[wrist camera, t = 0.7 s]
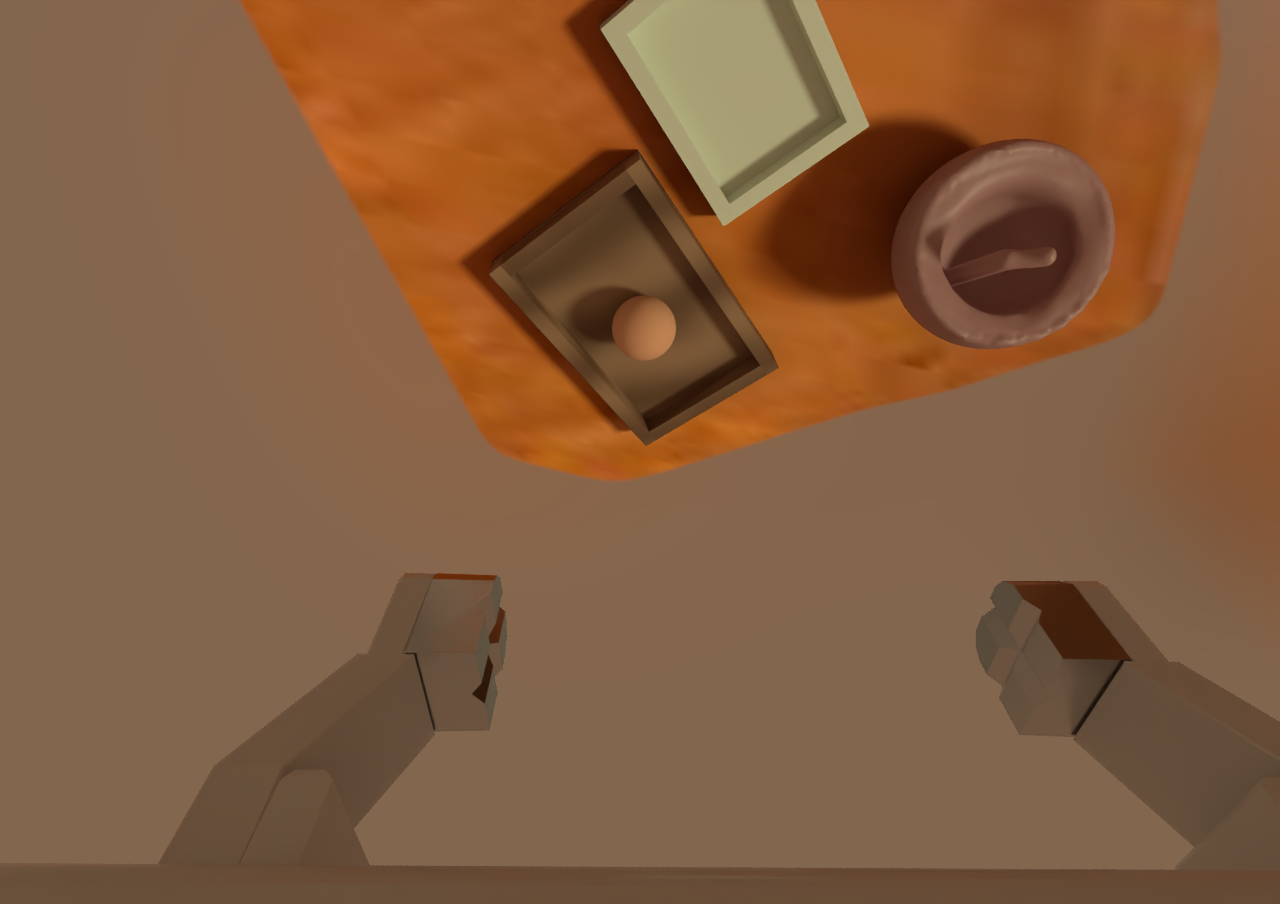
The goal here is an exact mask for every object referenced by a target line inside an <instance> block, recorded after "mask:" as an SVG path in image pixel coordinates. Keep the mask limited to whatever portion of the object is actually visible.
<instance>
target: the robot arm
mask: <svg viewBox="0 0 1280 904" xmlns="http://www.w3.org/2000/svg"><path fill="white" fill-rule="evenodd" d="M501 597H502V587H501V580H500V577H499V576H495V575H470V574H441V573H438V574H424V573H423V574H422V573H405V574H404V575H403V576H402V577H401V578H400V579H399V581H398V583H397V585H396V588H395V590H394V593H393V595H392V598H391V599H390V602H389V604H388V607H387V609H386V611H385V613H384V616H383V618H382V620H381V623H380V625H379V628H378V630H377V632H376V634H375V637H374V639H373V641H372V644H371V646H370V648H369V651H368V653H367V654H357V655H356V656H354V657H353V658H352V659H350V660H349V661H348V662H346V663H345V664H344V665H343V666H341V667H340V668H339V669H337V670H336V671H335V672H334V673H332V674H331V675H330V676H328V677H327V678H326V679H325V680H323V681H322V682H321V683H320V684H318V685H317V686H316V687H314V688H313V689H312V690H311V691H309V692H308V693H307V694H305V695H304V696H303V697H302V698H300V699H299V700H298V701H296V702H295V703H294V704H293V705H291V706H290V707H289V708H287V709H286V710H285V711H284V712H282V713H281V714H280V715H279V716H277V717H276V718H275V719H273V720H272V721H271V722H270V723H268V724H267V725H266V726H264V727H263V728H262V729H261V730H259V731H258V732H257V733H255V734H254V735H253V736H252V737H250V738H249V739H248V740H246V741H245V742H244V743H243V744H241V745H240V746H239V747H238V748H236V749H235V750H234V751H233V752H231V753H230V754H229V755H227V756H226V757H225V758H223V759H222V760H221V761H220V762H218V763H217V764H216V765H214V767H213V768H212V770H211V772H210V774H209V775H208V777H207V779H206V781H205V782H204V784H203V786H202V788H201V790H200V791H199V793H198V795H197V796H196V798H195V800H194V802H193V803H192V805H191V807H190V809H189V810H188V812H187V814H186V816H185V817H184V819H183V821H182V823H181V825H180V826H179V828H178V830H177V831H176V833H175V835H174V837H173V838H172V840H171V842H170V844H169V845H168V847H167V849H166V851H165V852H164V854H163V856H162V858H161V859H160V861H159V863H158V864H65V863H63V864H61V863H57V864H56V863H49V864H48V863H0V904H1280V722H1279V721H1278V720H1276V719H1274V718H1273V717H1271V716H1269V715H1268V714H1266V713H1264V712H1262V711H1261V710H1259V709H1257V708H1256V707H1254V706H1252V705H1251V704H1249V703H1247V702H1245V701H1244V700H1242V699H1241V698H1239V697H1237V696H1235V695H1234V694H1232V693H1230V692H1229V691H1227V690H1225V689H1224V688H1222V687H1220V686H1219V685H1217V684H1215V683H1213V682H1212V681H1210V680H1208V679H1207V678H1205V677H1203V676H1202V675H1200V674H1198V673H1196V672H1195V671H1193V670H1192V669H1190V668H1188V667H1186V666H1185V665H1183V664H1181V663H1180V662H1169V661H1168V660H1167V659H1166V658H1165V657H1164V655H1163V654H1162V653H1161V652H1160V650H1159V649H1158V648H1157V647H1156V646H1155V644H1154V643H1153V642H1152V641H1151V640H1150V639H1149V637H1148V636H1147V635H1146V634H1145V633H1144V631H1143V630H1142V629H1141V628H1140V626H1139V625H1138V624H1137V623H1136V622H1135V620H1133V618H1132V617H1131V616H1130V615H1129V613H1128V612H1127V611H1126V610H1125V608H1124V607H1123V606H1122V605H1121V604H1120V602H1119V601H1118V600H1117V599H1116V598H1115V597H1114V595H1113V594H1112V593H1111V592H1110V591H1109V589H1108V588H1107V587H1106V586H1104V585H1103V584H1101V583H1099V582H1098V581H1064V582H1061V581H1002V582H1001V583H999V584H998V585H997V586H996V587H995V588H994V590H993V593H992V595H991V597H990V599H991V600H992V602H993V604H994V606H995V608H993V609H992V610H991V611H989V612H988V613H986V614H985V615H984V616H982V617H981V620H980V622H979V625H978V627H977V630H976V649H977V653H978V656H979V660H980V662H981V664H982V666H983V668H984V670H985V672H986V674H987V675H989V676H990V677H991V678H993V679H994V680H995V681H997V682H998V683H999V684H1001V685H1002V690H1001V693H1000V697H999V698H1000V700H1001V702H1002V704H1003V705H1004V707H1005V709H1006V711H1007V713H1008V715H1009V717H1010V718H1011V720H1012V722H1013V724H1014V726H1015V728H1016V730H1017V731H1018V733H1019V735H1036V736H1065V737H1074V741H1075V742H1077V743H1078V744H1079V745H1080V746H1081V747H1082V748H1083V749H1085V750H1086V751H1087V752H1088V753H1089V754H1090V755H1091V756H1092V757H1093V758H1095V759H1096V760H1097V761H1098V762H1099V763H1100V764H1101V765H1103V766H1104V767H1105V768H1106V769H1107V770H1108V771H1109V772H1110V773H1111V774H1113V775H1114V776H1115V777H1116V778H1117V779H1118V780H1119V781H1120V782H1122V783H1123V784H1124V785H1125V786H1126V787H1127V788H1128V789H1129V790H1131V791H1132V792H1133V793H1134V794H1135V795H1136V796H1137V797H1138V798H1140V799H1141V800H1142V801H1143V802H1144V803H1145V804H1146V805H1148V806H1149V807H1150V808H1151V809H1152V810H1153V811H1154V812H1155V813H1157V814H1158V815H1159V816H1160V817H1161V818H1162V819H1163V820H1164V821H1166V822H1167V823H1168V824H1169V825H1170V826H1171V827H1172V828H1173V829H1175V830H1176V831H1177V832H1178V833H1179V834H1181V836H1182V837H1184V838H1185V839H1186V840H1187V841H1188V842H1189V843H1190V844H1191V845H1193V846H1194V848H1193V849H1192V850H1191V851H1190V852H1189V853H1188V854H1187V855H1186V856H1185V857H1184V858H1183V859H1182V860H1181V861H1180V862H1179V863H1178V865H1177V866H1176V869H1175V870H1118V869H1112V870H1111V869H1103V870H1102V869H950V868H947V869H946V868H945V869H944V868H943V869H942V868H755V867H754V868H752V867H751V868H748V867H742V868H741V867H561V866H560V867H559V866H558V867H557V866H554V867H553V866H374V865H373V866H370V865H369V863H368V860H367V858H366V856H365V853H364V851H363V849H362V846H361V844H360V842H359V840H358V837H357V835H356V832H355V830H354V828H355V827H356V826H357V824H358V823H359V822H360V821H361V820H362V819H363V817H364V816H365V815H366V814H367V813H368V812H369V810H370V809H371V808H372V807H373V806H374V805H375V804H376V802H377V801H378V800H379V799H380V798H381V797H382V795H383V794H384V793H385V792H386V791H387V790H388V788H389V787H390V786H391V785H392V784H393V783H394V781H395V780H396V779H397V778H398V777H399V776H400V774H401V773H402V772H403V771H404V770H405V769H406V768H407V766H408V765H409V764H410V763H411V762H412V761H413V760H414V758H415V757H416V756H417V755H418V753H420V751H421V750H422V749H423V748H424V747H425V746H426V744H427V743H428V742H429V741H430V740H431V738H432V737H433V736H434V735H435V733H434V731H479V730H480V731H483V730H490V725H491V720H492V716H493V711H494V706H495V702H496V697H497V687H496V681H495V676H496V675H497V674H498V673H499V672H500V671H501V670H502V668H503V663H504V658H505V651H506V640H507V622H506V614H505V611H504V610H503V609H502V608H500V602H501Z"/></svg>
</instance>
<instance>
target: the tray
mask: <svg viewBox="0 0 1280 904" xmlns="http://www.w3.org/2000/svg"><path fill="white" fill-rule="evenodd" d="M600 29H601V31H602V33H603V34H604V36H605V37H606V39H607V41H608V42H609V44H610V45H611V47H612V49H613V50H614V52H615V53H616V55H617V57H618V58H619V60H620V61H621V63H622V65H623V66H624V68H625V69H626V71H627V73H628V74H629V76H630V77H631V79H632V81H633V82H634V84H635V85H636V87H637V89H638V90H639V92H640V93H641V95H642V97H643V98H644V100H645V101H646V103H647V105H648V106H649V108H650V109H651V111H652V113H653V114H654V116H655V117H656V119H657V121H658V122H659V124H660V125H661V127H662V129H663V130H664V132H665V133H666V135H667V137H668V138H669V140H670V141H671V143H672V145H673V146H674V148H675V149H676V151H677V153H678V154H679V156H680V157H681V159H682V161H683V162H684V164H685V165H686V167H687V169H688V170H689V172H690V173H691V175H692V177H693V178H694V180H695V181H696V183H697V185H698V186H699V188H700V189H701V191H702V193H703V194H704V196H705V197H706V199H707V201H708V202H709V204H710V205H711V207H712V209H713V210H714V212H715V213H716V215H717V217H718V218H719V220H720V221H721V223H722V225H723V226H725V225H727V224H728V223H729V222H731V221H732V220H734V219H735V218H737V217H738V216H740V215H741V214H743V213H744V212H745V211H747V210H748V209H750V208H751V207H753V206H754V205H756V204H757V203H759V202H760V201H761V200H763V199H764V198H766V197H767V196H769V195H770V194H772V193H773V192H775V191H776V190H777V189H779V188H780V187H782V186H783V185H785V184H786V183H788V182H789V181H791V180H792V179H793V178H795V177H796V176H798V175H799V174H801V173H802V172H804V171H805V170H807V169H808V168H809V167H811V166H812V165H814V164H815V163H817V162H818V161H820V160H821V159H823V158H824V157H825V156H827V155H828V154H830V153H831V152H833V151H834V150H836V149H837V148H839V147H840V146H841V145H843V144H844V143H846V142H847V141H849V140H850V139H852V138H853V137H855V136H856V135H857V134H859V133H860V132H862V131H863V130H865V129H866V128H868V127H869V124H868V122H867V120H866V117H865V115H864V113H863V110H862V108H861V106H860V103H859V101H858V99H857V96H856V94H855V92H854V89H853V87H852V85H851V82H850V80H849V78H848V75H847V73H846V70H845V68H844V66H843V63H842V61H841V59H840V56H839V54H838V52H837V49H836V47H835V45H834V42H833V40H832V38H831V35H830V33H829V31H828V28H827V26H826V24H825V21H824V19H823V17H822V14H821V12H820V10H819V7H818V5H817V3H816V0H628V1H627V2H626V3H624V4H623V5H622V6H621V7H620V8H619V9H618V10H616V11H615V12H614V13H613V14H612V15H611V16H609V17H608V18H607V19H606V20H605V21H604V22H602V23H601V24H600Z"/></svg>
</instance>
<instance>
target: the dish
mask: <svg viewBox="0 0 1280 904" xmlns="http://www.w3.org/2000/svg"><path fill="white" fill-rule="evenodd" d="M489 275H490V276H491V277H492V278H493V280H494V281H495V282H496V283H497V284H498V285H499V286H500V287H501V288H502V289H503V290H504V292H505V293H506V294H507V295H508V296H509V297H510V298H511V299H512V300H513V301H514V302H515V304H516V305H517V306H518V307H519V308H520V309H521V310H522V311H523V312H524V313H525V314H526V316H527V317H528V318H529V319H530V320H531V321H532V322H533V323H534V324H535V325H536V326H537V328H538V329H539V330H540V331H541V332H542V333H543V334H544V335H545V336H546V337H547V339H548V340H549V341H550V342H551V343H552V344H553V345H554V346H555V347H556V348H557V349H558V351H559V352H560V353H561V354H562V355H563V356H564V357H565V358H566V359H567V360H568V361H569V363H570V364H571V365H572V366H573V367H574V368H575V369H576V370H577V371H578V372H579V373H580V375H581V376H582V377H583V378H584V379H585V380H586V381H587V382H588V383H589V384H590V385H591V387H592V388H593V389H594V390H595V391H596V392H597V393H598V394H599V395H600V396H601V397H602V399H603V400H604V401H605V402H606V403H607V404H608V405H609V406H610V407H611V408H612V409H613V411H614V412H615V413H616V414H617V415H618V416H619V417H620V418H621V419H622V420H623V421H624V423H625V424H626V425H627V426H628V427H629V428H630V429H631V430H632V431H633V432H634V433H635V435H636V436H637V437H638V438H639V439H640V440H641V441H642V442H643V443H644V444H645V445H646V446H647V445H648V444H650V443H652V442H653V441H655V440H657V439H659V438H660V437H662V436H664V435H665V434H667V433H669V432H670V431H672V430H674V429H676V428H677V427H679V426H681V425H682V424H684V423H686V422H687V421H689V420H691V419H693V418H694V417H696V416H698V415H699V414H701V413H703V412H704V411H706V410H708V409H709V408H711V407H713V406H715V405H716V404H718V403H720V402H721V401H723V400H725V399H726V398H728V397H730V396H732V395H733V394H735V393H737V392H738V391H740V390H742V389H743V388H745V387H747V386H749V385H750V384H752V383H754V382H755V381H757V380H759V379H760V378H762V377H764V376H766V375H767V374H769V373H771V372H772V371H774V370H776V369H777V368H779V367H778V365H777V363H776V361H775V358H774V356H773V354H772V352H771V350H770V349H769V347H768V346H767V344H766V343H765V341H764V340H763V338H762V337H761V335H760V334H759V332H758V331H757V329H756V328H755V326H754V325H753V323H752V322H751V320H750V319H749V317H748V316H747V314H746V313H745V311H744V310H743V308H742V307H741V305H740V303H739V302H738V300H737V299H736V297H735V296H734V294H733V293H732V291H731V290H730V288H729V287H728V285H727V284H726V282H725V281H724V279H723V278H722V276H721V275H720V273H719V272H718V270H717V269H716V267H715V266H714V264H713V263H712V261H711V260H710V258H709V257H708V255H707V254H706V252H705V251H704V249H703V248H702V246H701V245H700V243H699V242H698V240H697V238H696V237H695V235H694V234H693V232H692V231H691V229H690V228H689V226H688V225H687V223H686V222H685V220H684V219H683V217H682V216H681V214H680V213H679V211H678V210H677V208H676V207H675V205H674V204H673V202H672V201H671V199H670V198H669V196H668V195H667V193H666V192H665V190H664V189H663V187H662V186H661V184H660V183H659V181H658V180H657V178H656V176H655V175H654V173H653V172H652V170H651V169H650V167H649V166H648V164H647V163H646V161H645V160H644V158H643V157H642V155H641V154H640V152H639V151H638V150H636V151H635V152H634V153H632V154H631V155H630V156H628V157H627V158H626V159H625V160H623V161H622V162H621V163H619V164H618V165H617V166H615V167H614V168H613V169H612V170H610V171H609V172H608V173H606V174H605V175H604V176H602V177H601V178H600V179H599V180H597V181H596V182H595V183H593V184H592V185H591V186H589V187H588V188H587V189H586V190H584V191H583V192H582V193H580V194H579V195H578V196H576V197H575V198H574V199H572V200H571V201H570V202H569V203H567V204H566V205H565V206H563V207H562V208H561V209H559V210H558V211H557V212H556V213H554V214H553V215H552V216H550V217H549V218H548V219H546V220H545V221H544V222H543V223H541V224H540V225H539V226H537V227H536V228H535V229H533V230H532V231H531V232H530V233H528V234H527V235H526V236H524V237H523V238H522V239H520V240H519V241H518V242H517V243H515V244H514V245H513V246H511V247H510V248H509V249H507V250H506V251H505V252H504V253H502V254H501V255H500V256H498V257H497V258H496V259H494V260H493V261H492V265H491V268H490V272H489ZM636 296H652V297H655V298H657V299H659V300H661V301H662V302H664V303H665V304H666V305H667V306H668V307H669V308H670V310H671V311H672V313H673V315H674V318H675V322H676V333H675V338H674V341H673V343H672V345H671V346H670V348H669V349H668V350H667V351H666V352H665V353H664V354H663V355H661V356H659V357H658V358H655V359H652V360H646V361H642V360H636V359H633V358H631V357H629V356H627V355H625V354H624V353H623V352H622V351H621V350H620V349H619V348H618V346H617V344H616V343H615V340H614V338H613V333H612V323H613V318H614V316H615V313H616V312H617V310H618V309H619V307H620V306H621V305H622V304H623V303H624V302H626V301H627V300H629V299H631V298H633V297H636Z"/></svg>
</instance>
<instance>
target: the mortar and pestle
mask: <svg viewBox="0 0 1280 904" xmlns="http://www.w3.org/2000/svg"><path fill="white" fill-rule="evenodd" d="M1114 241H1115V227H1114V215H1113V208H1112V204H1111V200H1110V197H1109V195H1108V192H1107V190H1106V188H1105V186H1104V184H1103V182H1102V181H1101V179H1100V178H1099V177H1098V175H1097V174H1096V172H1095V171H1094V170H1093V169H1092V167H1091V166H1090V165H1089V164H1088V163H1087V162H1086V161H1085V160H1084V159H1082V158H1081V157H1080V156H1078V155H1077V154H1075V153H1074V152H1072V151H1070V150H1068V149H1067V148H1065V147H1063V146H1060V145H1057V144H1054V143H1050V142H1046V141H1041V140H1033V139H1012V140H1003V141H998V142H993V143H989V144H986V145H982V146H979V147H977V148H974V149H971V150H969V151H967V152H965V153H963V154H961V155H959V156H957V157H955V158H953V159H952V160H950V161H949V162H947V163H946V164H944V165H943V166H942V167H940V168H939V169H938V170H936V171H935V172H934V173H933V174H932V175H931V176H930V177H929V178H928V179H926V180H925V181H924V182H923V184H922V185H921V186H920V187H919V188H918V189H917V191H916V192H915V193H914V194H913V196H912V197H911V199H910V200H909V202H908V203H907V205H906V207H905V209H904V210H903V212H902V214H901V217H900V219H899V221H898V224H897V227H896V230H895V233H894V237H893V242H892V249H891V269H892V276H893V280H894V285H895V288H896V290H897V293H898V295H899V298H900V299H901V301H902V303H903V305H904V307H905V308H906V309H907V311H908V312H909V313H910V315H911V316H912V317H913V318H914V319H915V320H916V321H917V322H918V323H919V324H920V325H921V326H922V327H924V328H925V329H926V330H928V331H929V332H931V333H932V334H934V335H936V336H937V337H939V338H941V339H943V340H946V341H948V342H951V343H954V344H957V345H960V346H965V347H970V348H977V349H1000V348H1008V347H1013V346H1018V345H1022V344H1026V343H1029V342H1034V341H1037V340H1040V339H1042V338H1044V337H1045V336H1047V335H1049V334H1050V333H1052V332H1055V331H1057V330H1059V329H1061V328H1063V327H1064V326H1066V325H1067V324H1068V322H1069V321H1071V320H1072V319H1073V318H1075V317H1076V316H1077V315H1078V314H1079V313H1080V312H1082V311H1083V310H1084V309H1085V307H1086V304H1087V303H1088V302H1089V301H1090V300H1091V299H1092V298H1093V297H1094V295H1095V294H1096V292H1097V291H1098V289H1099V286H1100V285H1101V283H1102V281H1103V280H1104V278H1105V276H1106V274H1107V272H1108V270H1109V268H1110V264H1111V259H1112V254H1113V249H1114Z"/></svg>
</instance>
